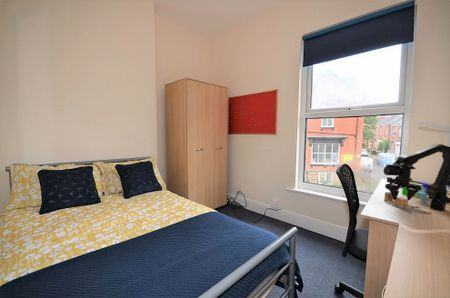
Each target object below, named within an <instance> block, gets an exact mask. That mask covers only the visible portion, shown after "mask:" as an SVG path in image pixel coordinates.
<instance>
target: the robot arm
mask: <svg viewBox="0 0 450 298" xmlns="http://www.w3.org/2000/svg"><path fill="white" fill-rule="evenodd" d="M437 153H441V156H442V160H443V161H442V163H441V165H440V168H439V171H438V172H437V173H438V174H437V176H436V178H435V180H434V182H433V183H432V184H429V183H428V187H427V189H426V190H427V191H426V193H427V195H428V196H427V197H428V199H431V200H430V204H429V208H430V209H432V210H434V211H439V212H440V211H442V212H443V211H446V206H447V204H450V197H448V196H447V194H448V190H447V184H448V182H449V179H450V146H448V145H444V144H442V143H434V144H432V145H430V146H428V147H425V148H422V149H420V150H417V151H415V152H412V153H405V154H402V155H399V156H398V158H397V159H396V160H395V161H394V163H392V164H390V163H389V164H388V163H387V164H386V165H385V167H383V173H384V175H385V176H395V178H393V177H386V182H387V183H386V184H385V185H384V188H385V189H387V190H388V191H389V192H391V194H392V197H393V201H396V199H397V197H399V193H400V189H403V188H406V189H407V196H406V199H408V201H410V200H412V198H414V197H413V196H414V195H415V194H416V193H417V192H419V191H418V190H421V186H420V185H417V184H413V183H410V180H412V181H413V178H411V175H412V170H416V167H415V166H414V164H416V163H417V162H419V161H420V160H422V159H424V158H426V157H429V156H432V155H434V154H437Z"/></svg>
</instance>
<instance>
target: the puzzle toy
mask: <svg viewBox="0 0 450 298" xmlns="http://www.w3.org/2000/svg"><path fill="white" fill-rule="evenodd" d="M410 183H413V184H417V185H420V186H421V187H424V188H426V189H427V187H428V185H429V183H426V182H422V181H421V182H420V181H416V180H413V179H412V180H410ZM401 190H402V192H401V193H402V194H401V195H403V196H406V197H407V189H406V188H402V189H401ZM419 191H420V190H419ZM421 191H422V192H424V193H425V191H426V190H425V189H422V190H421ZM421 197H422V199H423V196H421ZM412 198H416V199H418V200H419V199H420V198H419V196H418V195H416V194H415V195H414V196H413V197H412Z"/></svg>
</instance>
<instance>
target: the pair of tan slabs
mask: <svg viewBox="0 0 450 298" xmlns="http://www.w3.org/2000/svg"><path fill="white" fill-rule="evenodd" d="M408 205H410V206H409V207H411V208H413V209H416V210H418V211H420V212H422V213H421V214H431V213H430V211H431V210H428V209H426V208H423V207H421V208H416V206H417V205H416V206H415V204H413V205H412V203H408ZM425 209H426V210H425Z"/></svg>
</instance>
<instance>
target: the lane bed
mask: <svg viewBox="0 0 450 298" xmlns="http://www.w3.org/2000/svg"><path fill="white" fill-rule="evenodd" d="M411 204H412V203H411ZM412 205H415V204H412ZM391 206H392V207H395V208H396V209H399V210H402V211H404V212H406V213H408V214H413V211H414V212H416V213H418V214H423V213H422V212H420V211H418V210H416V209H414V208H411V207H409V209H403V208H401V207H399V206H396V205H394V204H391ZM415 206H416V208H422V207H420V206H418V205H415ZM424 209H425V210H427V209H426V208H424ZM410 210H412V211H410ZM429 211H430V213H429V214H431V213H432V211H431V210H429Z"/></svg>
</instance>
